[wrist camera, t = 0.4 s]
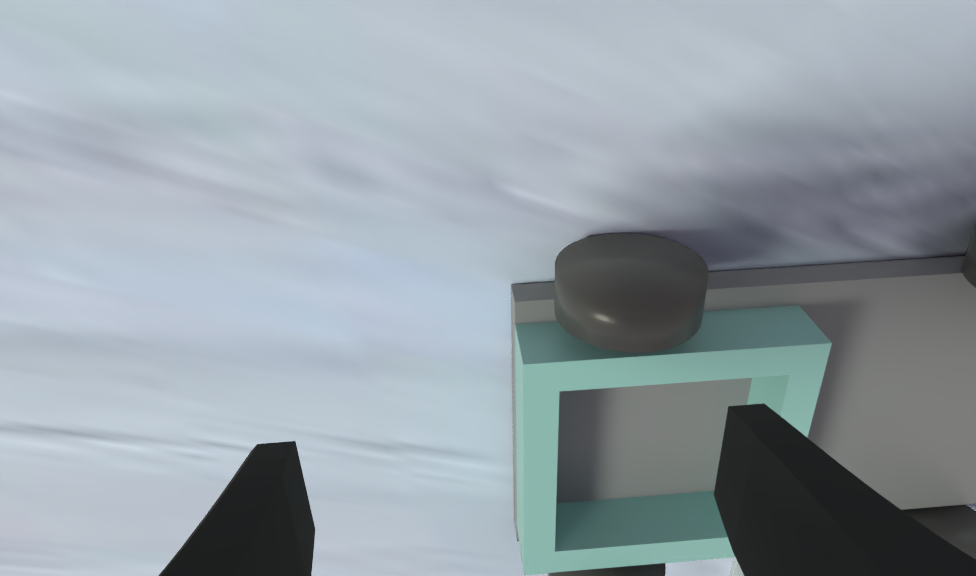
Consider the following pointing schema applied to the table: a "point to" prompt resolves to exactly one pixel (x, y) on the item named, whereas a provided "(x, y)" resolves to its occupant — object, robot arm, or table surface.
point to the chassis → (729, 393)
